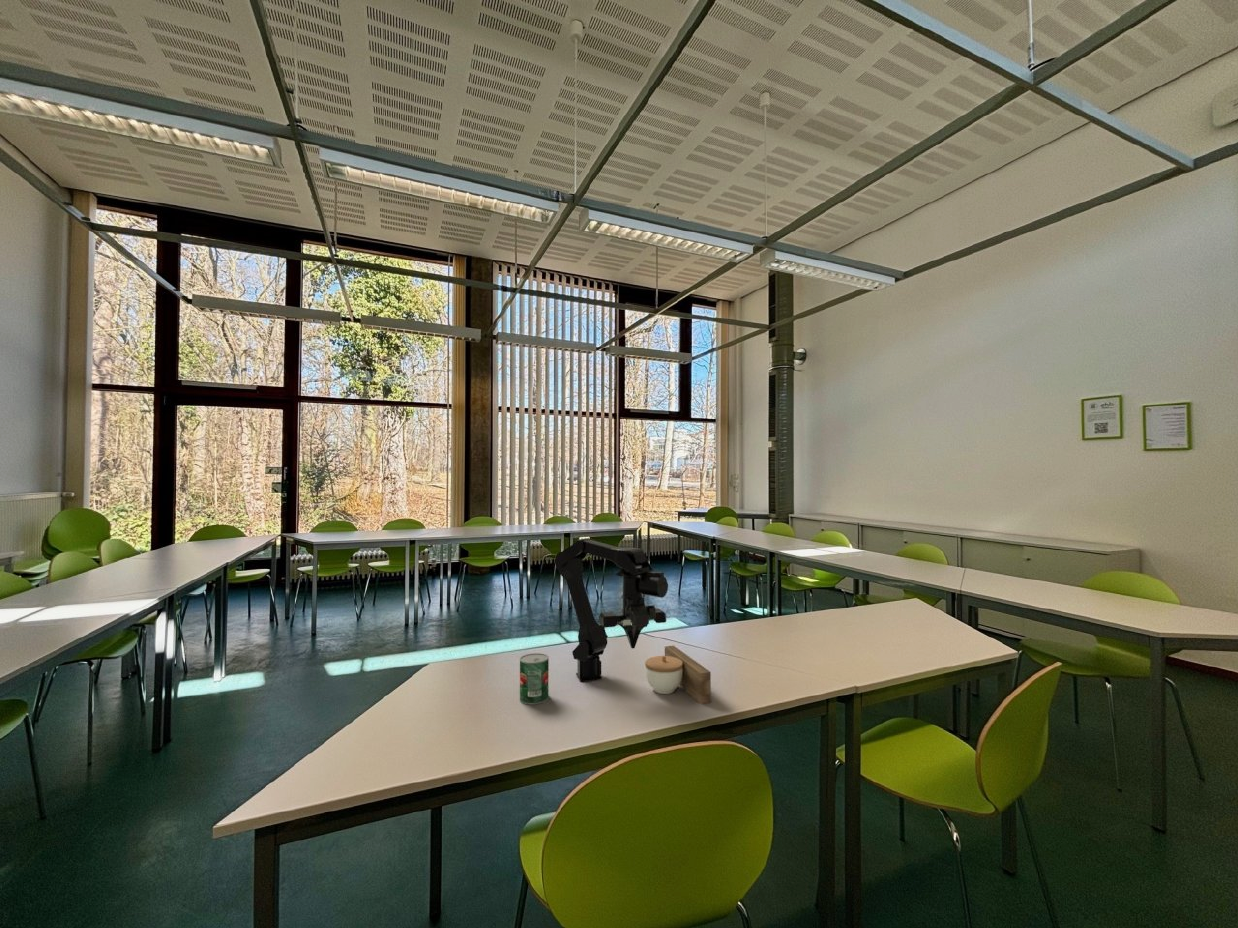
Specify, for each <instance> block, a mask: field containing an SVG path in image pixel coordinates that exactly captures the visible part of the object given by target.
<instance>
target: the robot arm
mask: <svg viewBox="0 0 1238 928" xmlns="http://www.w3.org/2000/svg"><path fill="white" fill-rule="evenodd" d="M588 555H591V556H595V557H597V558H602V559H605V560H608V561H611V562H612V563H614V564H615V565H616V566H617V567H619V568H621V569H620V570H619V571H617V573H616V576H617V577H622V594H621V599H622V609H621V613H622V614H615V613H614V612H613V611H609V612H608V611H606V612H600V614H599V616H598V622H597V621H596V619H595V615H594V613H593V609H592V606H591V603H590V600H589V596H588V593H587V590H586V586H585V584H584V579H583V577H582V574H583V569H584V564H583V563H584V562H583V561H584V560H585V559H586V557H587V556H588ZM554 564H555V567H556V570H557V572H558V574H559V575H560V576H561V577H562V578H563V579H564V580H565V582H566V585H567V588H568V591H569V595H570V598H571V601H572V605H573V608H574V611H575V615H576V618H577V621H578V626H579V627H578V633H577V640H578V645H577V646H576V647H575V648H574V649H573V650H572V656H573V659H574V660H577V661H576V662H577V669H576V670H577V672H575V675H576V677H577V679H578V680H579V681H580V682H590V681H599V680H602V661H601V659H600V658H601V657H600V656H602V655H603V654H604V652H605V649H606V648H607V645H608V637H609V636H608V634H607V632H606V628H614V627H616V626H617V625H619V626H620V627H621V628H622V629H623V630H624V632H625V635H626V637H627V638H626V639H627V641H628V644H629V646H630V648H631V649H636V646H637V642H638V639H639V637H640V634H641V632H642V630H643V629H644V628H647V627H648V626H649V624H650V623H649V622H650V620H653V621H654V622H655V623H656V624H664V623H666V622H667V614H666V612H664V610H662V609H660V608H659V607H658V608H656V606H655V605H645V598H644V597H643V595H644V596H649V597H656V598H661V599H662V598H664V597H665V596H666V595H667V593H668V590H669V583H668V580H667V578H666V577H665V572H664V571H654V569H653V567H652V565H651V564H650V562H649V560H648V558H647V557H646V553H645V552H644V550H643V549H642V548H639V547H619V546H616V545H612V544H608V543H604V542H600V541H597V540H593V539H591V538H587V537H586V538H580V539H578V540H576V541H575V542H574V543H573V544H571V545H569V546H567V547H566V548H565V549H564V550H562V551H559V552H557V553H556V556H555V558H554Z"/></svg>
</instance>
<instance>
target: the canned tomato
mask: <svg viewBox="0 0 1238 928" xmlns="http://www.w3.org/2000/svg"><path fill="white" fill-rule="evenodd" d="M549 658H550V656H549V655H547V654H545V653H542V652H541V653H539V652H538V653H537V652H535V653H533V652H532V653H528V654H525V655H522V656H521V657H520V658H519V701H520V702H521V703H522V704H525V705H539V704H543V703H545V702H546V701H548V699H549V697H550V696H549V691H550V690H549V689H550V688H549V677H550V675H549V660H550V659H549Z"/></svg>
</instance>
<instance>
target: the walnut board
mask: <svg viewBox="0 0 1238 928" xmlns="http://www.w3.org/2000/svg"><path fill="white" fill-rule="evenodd" d="M664 656H671V657H675V658H678V659H680V660H681V661H682V662H683V673H682V680H681V683H680V685H679V687H681V688H682V689H683V690H684V691H686V693H688V694H689V695H690V696H691V697H692V698H693V699H694V700H696V702H698V703H699V704H701V705H702V704H703V705H704V704H710V703H712V688H711V687H712V686H711V685H712V683H711V682H712V681H711V678H712V677H711V675H712V674H711V671H710V670H708V669H707V668H706V667H705V666H703V665H702V664H700V663H698V662H697V660H694V659H693V658H692V657H690V656H688V655H687V654H686V653H685V652H683V651H682V650H681V649H679V648H678V647H677V646H676V645H666V646H664Z"/></svg>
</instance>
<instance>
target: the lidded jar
mask: <svg viewBox="0 0 1238 928" xmlns="http://www.w3.org/2000/svg"><path fill="white" fill-rule="evenodd" d="M644 663H645V675H646V679H647V683H648V684H649V686H650V687H651V688H652V689H653V691H654V692H656V693H657V694H661V695H668V694H672V693H674V692H675V691H676V689H678V687H680V683H681V680H682V673H683V662H682V661H681V660H680V659H678V658H675V657H671V656H665V655H655V656H652V657H649V658H647V659H646V660H645V662H644Z"/></svg>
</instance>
